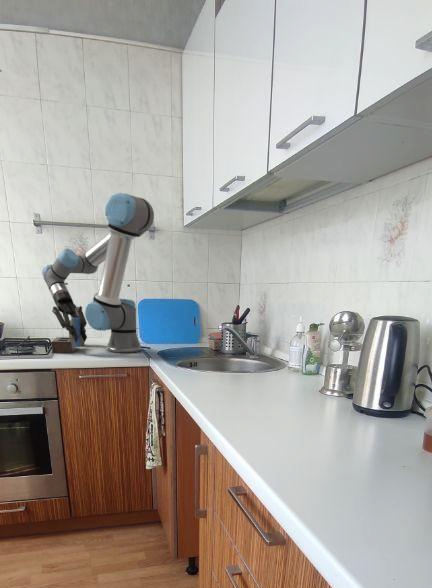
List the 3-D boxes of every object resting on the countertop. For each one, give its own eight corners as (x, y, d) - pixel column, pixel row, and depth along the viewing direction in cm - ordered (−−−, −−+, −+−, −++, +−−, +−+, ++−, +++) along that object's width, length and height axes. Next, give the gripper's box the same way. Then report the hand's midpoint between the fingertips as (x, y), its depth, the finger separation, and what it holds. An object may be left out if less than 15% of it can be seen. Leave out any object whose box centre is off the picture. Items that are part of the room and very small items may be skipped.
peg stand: (76, 348, 222) (75, 337, 220) (72, 353, 208) (71, 341, 206) (57, 347, 221) (56, 337, 219) (52, 353, 207) (51, 341, 205)
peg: (82, 346, 207) (80, 317, 203) (81, 347, 204) (79, 318, 199) (74, 346, 206) (71, 317, 202) (73, 347, 203) (70, 318, 199)
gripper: (77, 302, 214) (96, 343, 209) (41, 302, 204) (60, 346, 199) (81, 290, 209) (100, 332, 203) (44, 290, 199) (64, 334, 193)
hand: (81, 339), depth 201 cm, fingers closed on peg, 3 cm apart
